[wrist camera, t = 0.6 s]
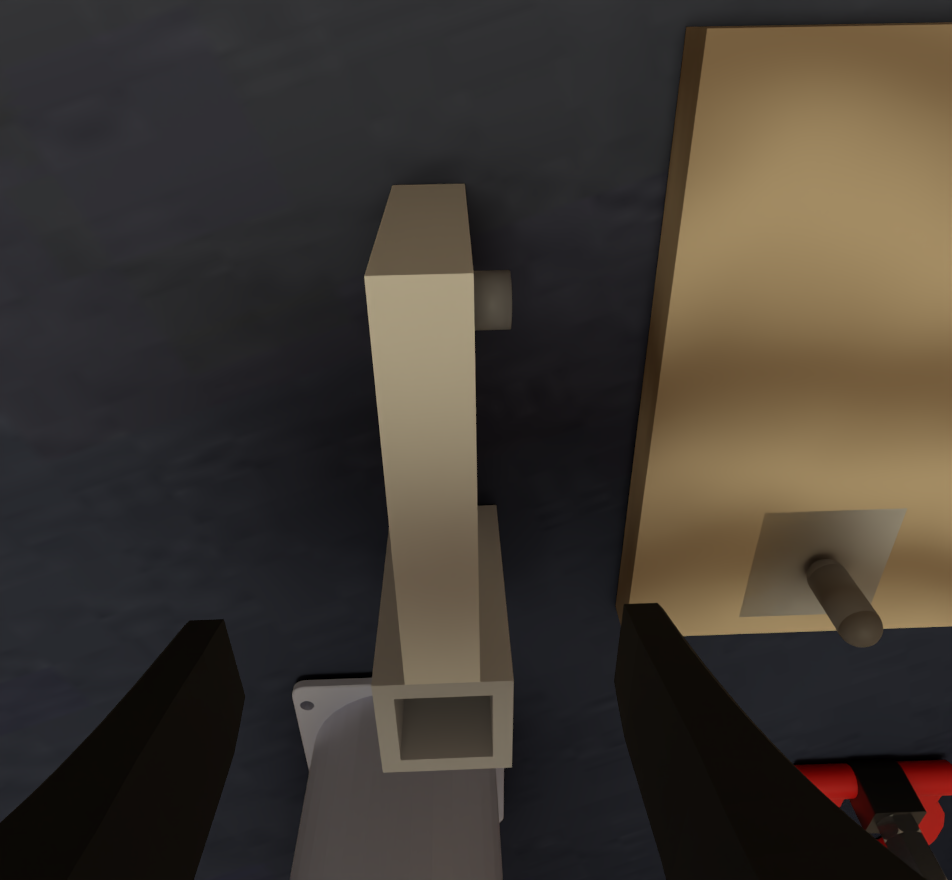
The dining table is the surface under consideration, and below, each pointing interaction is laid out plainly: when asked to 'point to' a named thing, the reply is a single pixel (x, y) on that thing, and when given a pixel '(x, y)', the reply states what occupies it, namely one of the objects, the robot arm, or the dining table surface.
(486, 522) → the door
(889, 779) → the tow hook
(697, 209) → the base board
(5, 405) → the dining table surface
